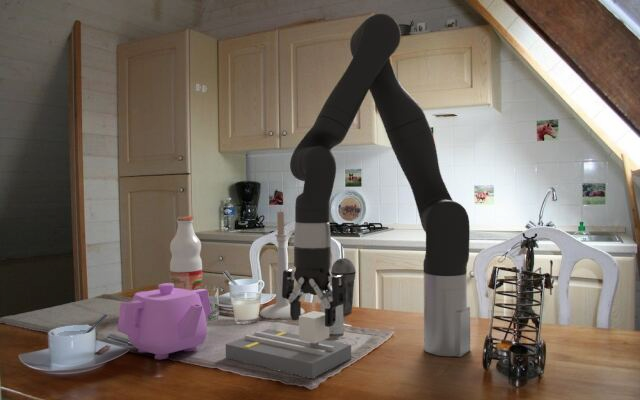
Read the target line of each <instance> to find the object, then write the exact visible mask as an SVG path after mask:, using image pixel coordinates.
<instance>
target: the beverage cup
mask: <svg viewBox="0 0 640 400" xmlns="http://www.w3.org/2000/svg"><path fill="white" fill-rule="evenodd" d="M343 250H344V249H343V243H340V256H341V258H339V259H337V260H335V261H334V263H333V264H332V266H331V271H330V274H331V276H337V275H342V276H343V280H344V301H345V302H344V304H343V315H348V314H351V313H352V311H353V303H354V302H353V300H354V290H355V289H354V287H355V279H356V273H357V270H356V266H355V265H354V263H353V262H352V261H351V259H349V258H344V252H343Z"/></svg>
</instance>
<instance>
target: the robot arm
mask: <svg viewBox="0 0 640 400" xmlns="http://www.w3.org/2000/svg"><path fill="white" fill-rule="evenodd" d="M401 39H402V31H401V29H400V25H399V24H398V22H397V21H396V20H395V19H394V18H393V17H392V16H390V15H388V14H385V13H376V14H373V15H371V16H369V17H368V18H366V19H365V20H363V22H362V23H361V24H360V25H359V27H357V29H356V30H355V31H354V32H353V34H352V35H351V38H350V42H349V48H350V49H349V50H350V53H351V56H352V59H351V61H350V63H349V65H348V66H347V68H346V70H345V72H344V73H343V74H342V76H341V77H340V79H339V80H338V82H337V83H336V85H335V86H334V88H333V89H332V91H331V92H330V93H329V96H328V97H327V99H326V101H325V102H324V104H323V106H322V108H321V110H320V112H319V113H318V115H317V117H316V119H315V120H314V123H313V125H312V127H311V128H310V129H309V131H308V132H307V133H306V134H305V135H304V137H303V138H302V139H301V140H300V142H299V143H298V144H297V146H296V147H295V149H294V151H293V153H292V155H291V158H290V161H289V162H290V163H289V168H290V173H291V174H292V176H293V177H294V178H295V179H296V180H299V181H300V182H301V181H302V182H303V183H304V184H303V188H302V189H303V191H302V192H301V193H300V194H298V195H297V197H296V198H295V207H294V208H295V209H294V211H295V215H294V216H295V217H294V219H295V220H294V222H295V223H294V232H293V233H294V234H293V266H294V268H295V270H294V268H290V269H286V270H285V271H283V284H282V297H283V298H286V299H288V301H289V304H290V316H291V317H292V319H291V320H292V321H294V322H295V321H299V316H300V315H301V308H302V305H301V303H302V301H300V299H302V297H303V295H304V294H307V295H308V294H310V295H313V296H317V298H318V299H319V300H320V301H321V300H322V301H323V303H324V305H325V307H326V308H325V326H326V327H330V326H333V325H334V323H335V321H336V307H337V306H340V305H343V304H344V302H345V301H344V280H343V276H342V275H337V276H332V274H331V271H330V268H331V264H332V263H331V261H332V260H331V258H332V256H331V249H332V248H331V246H332V244H331V238H332V237H331V234H332V233H331V226H330V200H331V197H332V194H333V188H334V184H335V179H336V173H337V163H336V159H335V155H334V154H333V152H332V149H333V148H335V146H338V145H340V144H341V143H342V142H343V141H344V140H345V138H346V136H347V134H348V132H349V131H350V128H351V126H352V125H353V122H354V120H355V118H356V116H357V114H358V111H360V109H361V106H362V104H363V102H364V100H365V99H366V96H367V94H368V93H369V92H370V94H371V96H372V99H373V102H374V104H375V107H376V110H377V112H378V115H379V117H380V119H381V122H382V125H383V128H384V131H385V133H386V135H387V139H388V140H389V143H390V146H391V149H392V150H393V152H394V154H395V155H394V156H395V157H396V159H397V161H398V164H399V166H400V168H401V170H402V172H403V175H404V177H405V178H406V180H407V181H408V184H409V186H410V187H409V188H410V189H411V192H412V196H413V198H414V200H415V201H414V202H415V204H416V208H417V212H418V216H419V219H420V223H421V224H420V225H421V226H422V229H423V231H424V232H425V255H424V260H423V344H424V345H423V347H424V348H423V349H424V351H425V352H427V353H428V354H431V355H435V356H440V357H459V358H461V357H463V356H464V355H465V354H467V353H468V352H469V351H471V308H470V307H469V306H467V305H468V303H467V302H468V301H467V299H468V298H467V297H468V296H467V295H468V293H467V290H468V289H467V288H468V283H467V280H468V279H467V271H468V270H467V268H468V267H467V266H468V262H469V258H470V233H471V232H470V219H469V215H468V212H467V210H466V208H465V207H464V206H463V205H462V204H460V203H459V202H457V201H456V200H455V201H454V200H453V198H452V197H451V194H450V193H449V191H448V188H447V186H446V184H445V182H444V180H443V177H442V174H441V170H440V165H439V157H438V154H437V152H438V151H437V147H436V141H435V139H434V136H433V132H432V130H431V127H430V124H429V121H428V120H427V116H426V114H425V113H424V110H423V108H422V107H421V106H420V104H419V103H418V102H417V100H415V98H414V97H412V95H411V94H410V93H409V92H408V91H407V90H406V89H405V88H404V87H403V86H402V84H401V83H400V81H399V79H398V77H397V75H396V73H395V70H394V68H393V65H392V62H391V58H390V57H392V55H393V54H395V52H396V51H397V49H398V47H399V45H400V43H401ZM295 281H296V285H295ZM329 285H330V286H329ZM330 287H332V290H331V289H330ZM324 291H325V292H326V293H324Z"/></svg>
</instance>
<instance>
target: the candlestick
mask: <svg viewBox="0 0 640 400" xmlns="http://www.w3.org/2000/svg"><path fill="white" fill-rule="evenodd" d="M276 213H277V214H276V215H277V217H276V219H277V220H276V221H277V222H276V223H277V227H276V229H277V234H274V236H275V237H276V241H277V243H278V246H277V259H276V260H277V263H276V290H275V291H276V296H275V303H274V304H271V305H268V306H266V307H264V308H263V309H261V310H260V312H259V316H260V315H261V316H263V317H262V318H264V317H267V318H266V319H268V318H284V319H283V320H290V319H291V320H292V317H291V316H290V302H289V300H288V299H286V298H283V297H282V284H283V271H285V270H287V263H286V250H285V249H286V246H285V242H286V240H287V239H286V237H287V236H288V234H287V233H286V234H285V211H283V210H282V211H281V209H280V210H279V211H277V212H276ZM305 312H306V311H305V309H304V308H302V307H301V315H303V314H306V313H305ZM261 316H260V317H261ZM285 318H286V319H285Z"/></svg>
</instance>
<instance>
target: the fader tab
mask: <svg viewBox="0 0 640 400" xmlns="http://www.w3.org/2000/svg"><path fill="white" fill-rule="evenodd" d="M298 335H299V340H300V341H305V342H310V348H315V349H318V348H319V342H320V341H322V340H328V339H329V338H330V335H329V327H326V326H325V313H323V312H321V311H315V310H312V311H310V312H306V313H305V314H303V315H300V316H299V320H298Z"/></svg>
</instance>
